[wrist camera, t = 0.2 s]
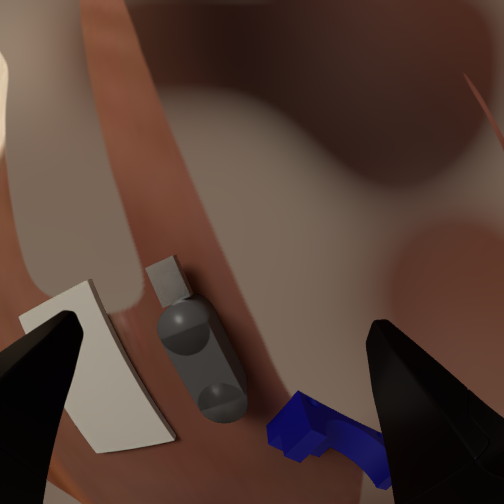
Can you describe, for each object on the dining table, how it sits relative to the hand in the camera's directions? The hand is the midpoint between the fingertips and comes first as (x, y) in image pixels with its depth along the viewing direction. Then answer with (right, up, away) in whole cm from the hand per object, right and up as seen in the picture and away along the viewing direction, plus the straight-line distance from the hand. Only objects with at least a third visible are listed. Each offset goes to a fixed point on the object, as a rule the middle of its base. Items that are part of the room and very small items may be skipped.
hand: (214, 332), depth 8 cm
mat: (-14, -9, +14) cm, 22 cm away
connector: (-3, -4, +14) cm, 15 cm away
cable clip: (+8, -15, +16) cm, 23 cm away
